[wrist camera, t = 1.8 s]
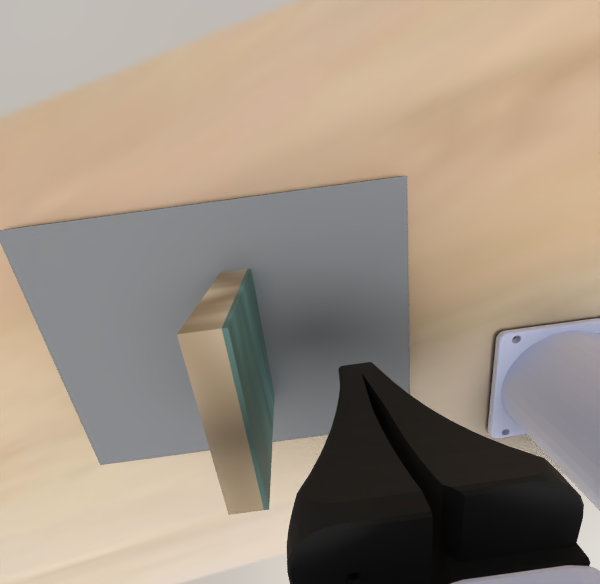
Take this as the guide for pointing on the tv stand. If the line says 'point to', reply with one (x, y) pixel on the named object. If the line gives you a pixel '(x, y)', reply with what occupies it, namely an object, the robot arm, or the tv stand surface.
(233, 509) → the tile
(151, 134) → the tv stand surface
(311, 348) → the mat
